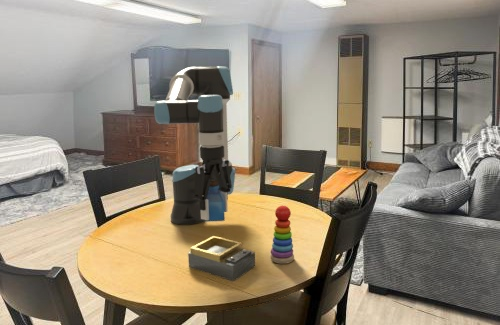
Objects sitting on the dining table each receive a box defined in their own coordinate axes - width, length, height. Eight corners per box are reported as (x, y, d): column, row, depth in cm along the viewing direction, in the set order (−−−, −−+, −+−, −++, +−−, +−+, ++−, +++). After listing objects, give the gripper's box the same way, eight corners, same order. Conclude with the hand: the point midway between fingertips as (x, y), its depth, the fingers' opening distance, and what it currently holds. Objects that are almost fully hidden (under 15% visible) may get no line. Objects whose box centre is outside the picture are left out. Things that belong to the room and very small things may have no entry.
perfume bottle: (205, 215, 138) (203, 179, 135) (224, 214, 138) (223, 178, 136) (204, 221, 132) (203, 184, 129) (224, 220, 132) (223, 183, 130)
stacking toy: (293, 265, 137) (293, 210, 133) (269, 264, 138) (268, 209, 135) (295, 255, 145) (295, 203, 141) (271, 254, 146) (271, 202, 142)
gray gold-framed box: (188, 267, 137) (187, 247, 136) (212, 254, 147) (211, 235, 145) (233, 281, 127) (232, 259, 126) (255, 266, 137) (254, 246, 136)
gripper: (198, 152, 119) (201, 227, 124) (241, 141, 137) (243, 208, 141) (178, 149, 123) (182, 222, 128) (223, 139, 141) (225, 204, 145)
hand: (214, 215), depth 135 cm, fingers closed on perfume bottle, 9 cm apart
